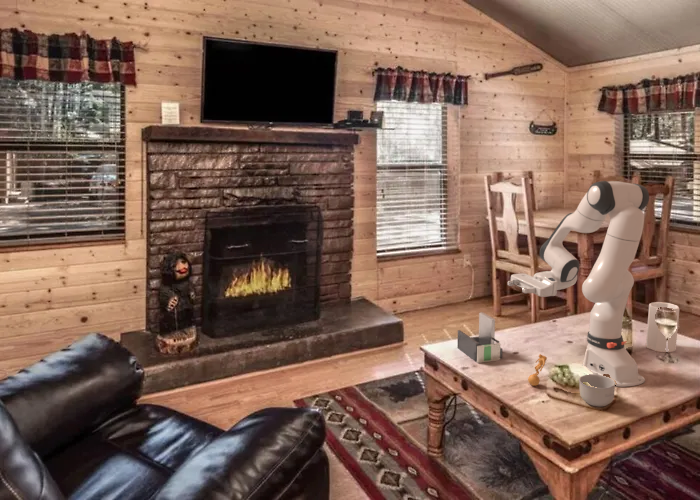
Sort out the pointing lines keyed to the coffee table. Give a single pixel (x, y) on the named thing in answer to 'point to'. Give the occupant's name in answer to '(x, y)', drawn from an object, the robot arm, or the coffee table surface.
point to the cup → (654, 336)
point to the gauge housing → (478, 349)
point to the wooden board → (486, 329)
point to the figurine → (534, 378)
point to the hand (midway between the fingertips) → (515, 287)
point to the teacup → (597, 389)
